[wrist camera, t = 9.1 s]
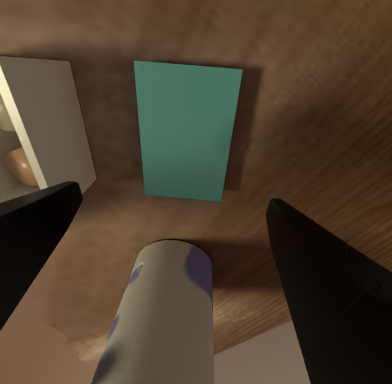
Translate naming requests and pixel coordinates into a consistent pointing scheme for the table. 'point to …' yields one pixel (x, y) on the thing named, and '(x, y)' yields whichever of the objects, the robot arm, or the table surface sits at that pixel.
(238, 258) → the table surface
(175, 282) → the container
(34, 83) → the storage box
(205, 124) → the lid
